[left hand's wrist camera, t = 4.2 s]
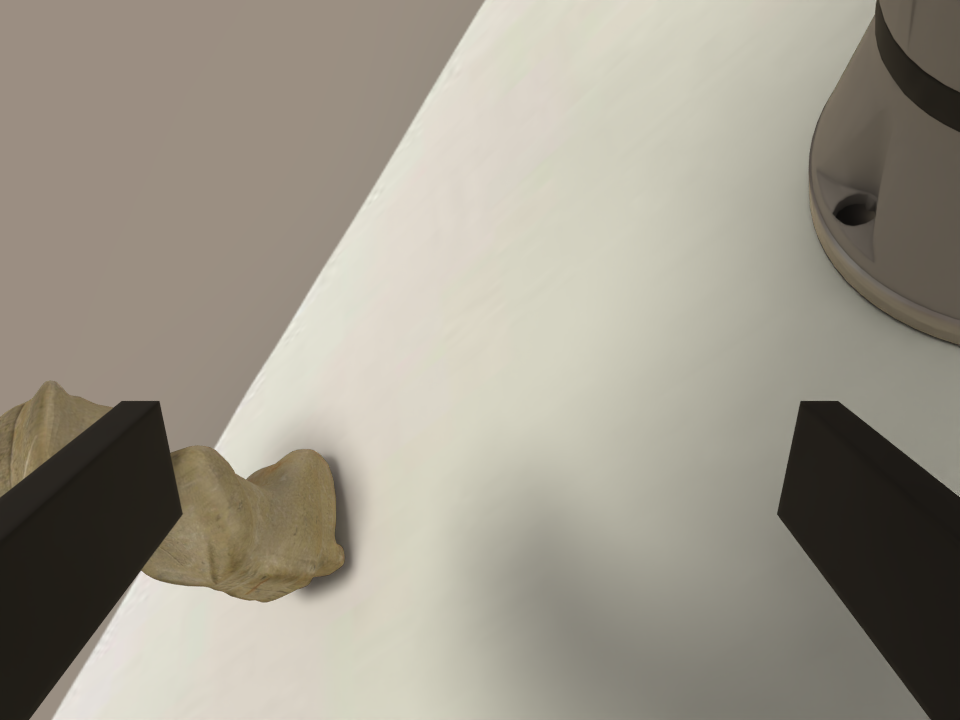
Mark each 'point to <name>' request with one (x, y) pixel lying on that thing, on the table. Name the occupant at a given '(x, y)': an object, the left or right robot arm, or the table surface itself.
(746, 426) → the table surface
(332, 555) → the sculpture
